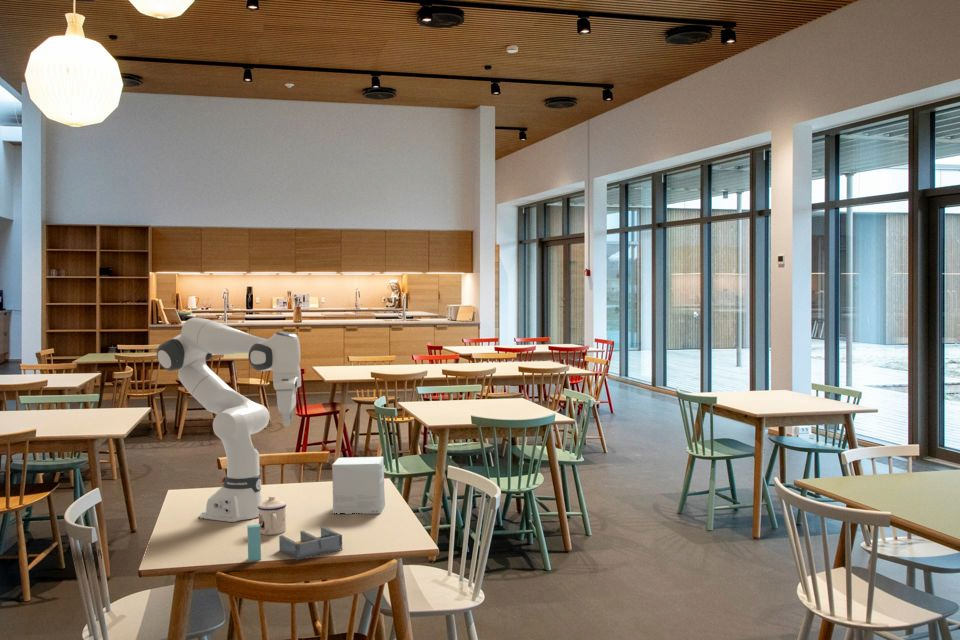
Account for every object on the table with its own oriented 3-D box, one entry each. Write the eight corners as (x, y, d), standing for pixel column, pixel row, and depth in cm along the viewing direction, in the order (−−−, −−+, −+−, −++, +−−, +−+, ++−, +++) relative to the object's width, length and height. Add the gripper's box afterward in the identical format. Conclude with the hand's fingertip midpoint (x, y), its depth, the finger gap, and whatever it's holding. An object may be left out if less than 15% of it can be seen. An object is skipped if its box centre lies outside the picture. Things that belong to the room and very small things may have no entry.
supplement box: (385, 504, 302) (384, 456, 301) (380, 514, 289) (380, 463, 288) (339, 505, 302) (338, 456, 302) (332, 514, 289) (331, 464, 288)
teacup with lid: (257, 529, 272) (256, 494, 272) (284, 526, 275) (284, 492, 275) (260, 539, 261) (259, 503, 260) (289, 536, 264) (288, 500, 264)
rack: (279, 550, 250) (278, 535, 249) (323, 540, 259) (323, 526, 259) (296, 560, 240) (296, 545, 240) (342, 549, 249) (342, 535, 249)
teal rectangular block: (248, 558, 242) (247, 525, 241) (260, 557, 243) (259, 524, 243) (248, 561, 239) (247, 527, 239) (260, 559, 241) (260, 526, 240)
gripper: (280, 378, 276) (281, 419, 276) (273, 385, 256) (274, 429, 256) (299, 378, 277) (300, 418, 277) (294, 384, 256) (295, 428, 257)
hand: (288, 423), depth 266 cm, fingers open, 8 cm apart
